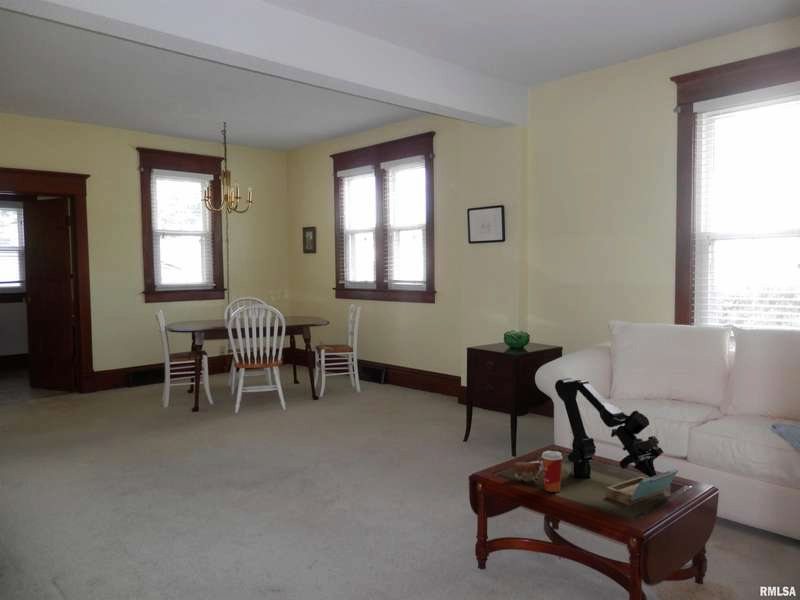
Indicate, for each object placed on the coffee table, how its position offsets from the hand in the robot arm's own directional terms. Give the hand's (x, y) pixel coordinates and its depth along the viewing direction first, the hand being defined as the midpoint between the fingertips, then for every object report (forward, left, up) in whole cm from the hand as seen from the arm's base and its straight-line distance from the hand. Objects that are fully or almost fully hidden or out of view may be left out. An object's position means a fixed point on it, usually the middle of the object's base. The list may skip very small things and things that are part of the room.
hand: (655, 479), depth 215 cm
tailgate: (-1, +2, -6) cm, 7 cm away
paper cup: (-33, +13, -8) cm, 37 cm away
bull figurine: (-39, +24, -8) cm, 47 cm away
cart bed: (-5, +7, -8) cm, 12 cm away
